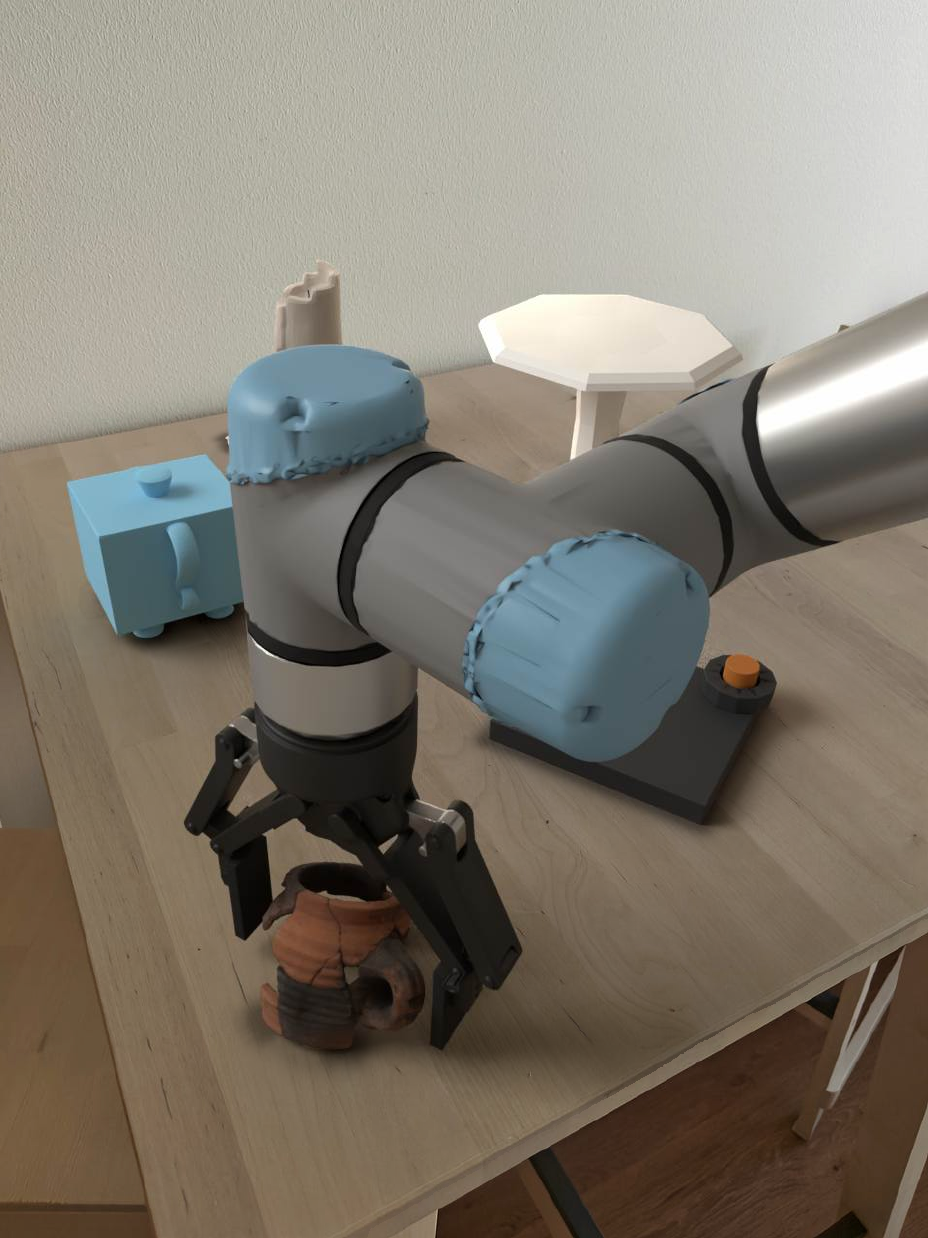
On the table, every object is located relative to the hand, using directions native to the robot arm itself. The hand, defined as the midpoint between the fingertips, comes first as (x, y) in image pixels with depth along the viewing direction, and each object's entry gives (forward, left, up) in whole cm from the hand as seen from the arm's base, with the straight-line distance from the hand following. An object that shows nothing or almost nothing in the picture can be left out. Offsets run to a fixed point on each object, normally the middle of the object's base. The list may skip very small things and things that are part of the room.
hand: (347, 973), depth 59 cm
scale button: (-12, -37, +2) cm, 39 cm away
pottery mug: (0, 0, -2) cm, 2 cm away
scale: (-5, -31, -1) cm, 31 cm away
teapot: (+35, -27, -1) cm, 44 cm away
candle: (+49, -57, -1) cm, 75 cm away
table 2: (+15, -69, -1) cm, 71 cm away
